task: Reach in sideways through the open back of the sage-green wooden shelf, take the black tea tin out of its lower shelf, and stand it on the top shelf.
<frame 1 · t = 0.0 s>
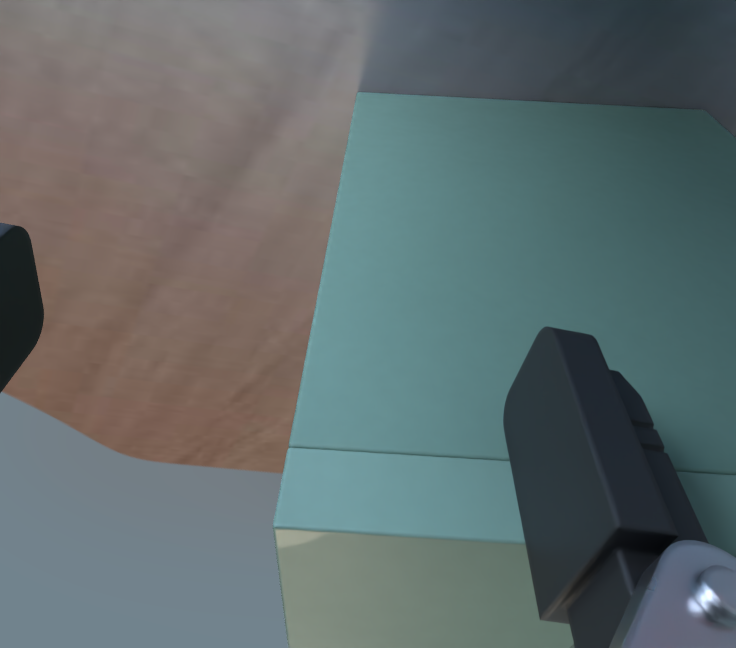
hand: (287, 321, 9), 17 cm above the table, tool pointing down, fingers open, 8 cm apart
shelf: (487, 305, 30), on the table
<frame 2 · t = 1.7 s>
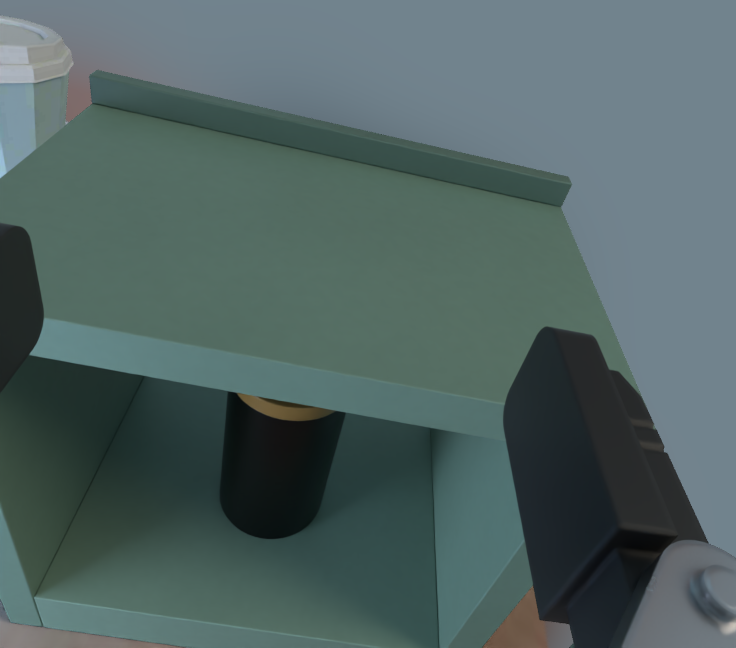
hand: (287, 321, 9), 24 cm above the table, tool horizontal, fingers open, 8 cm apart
black tea tin: (271, 492, 31), point 3 cm above the table, touching shelf
shelf: (266, 522, 33), on the table
disposable coffee cup: (21, 208, 51), on the table
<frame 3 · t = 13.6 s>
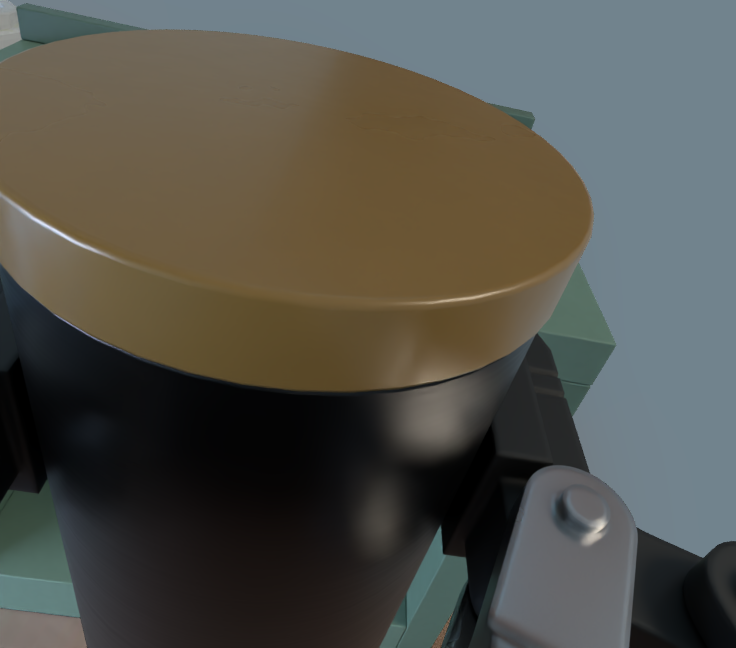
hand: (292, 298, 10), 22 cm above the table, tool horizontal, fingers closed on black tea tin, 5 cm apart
black tea tin: (240, 611, 12), point 16 cm above the table, touching gripper
shelf: (228, 497, 31), on the table
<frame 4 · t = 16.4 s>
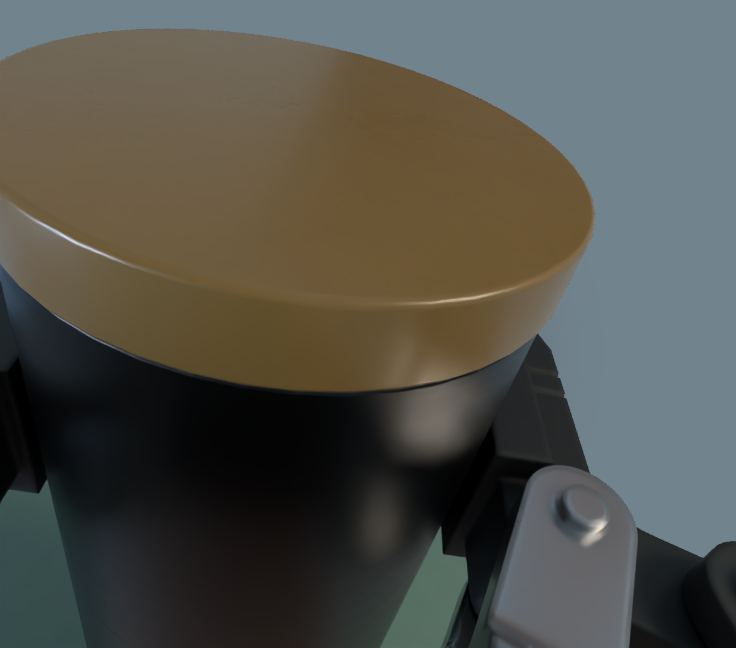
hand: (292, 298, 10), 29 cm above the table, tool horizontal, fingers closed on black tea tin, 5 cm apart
black tea tin: (240, 612, 12), point 23 cm above the table, touching gripper
when the fingers open (26 cm above the table, at t = 18.9 s): black tea tin stays where it is, resting on shelf.
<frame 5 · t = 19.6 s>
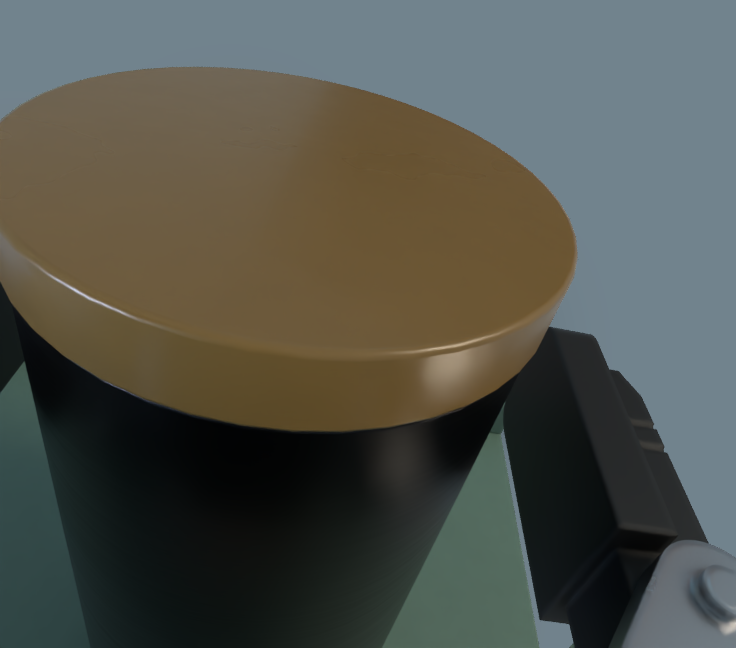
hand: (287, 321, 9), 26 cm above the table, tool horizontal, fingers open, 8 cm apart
black tea tin: (241, 621, 12), point 19 cm above the table, touching shelf
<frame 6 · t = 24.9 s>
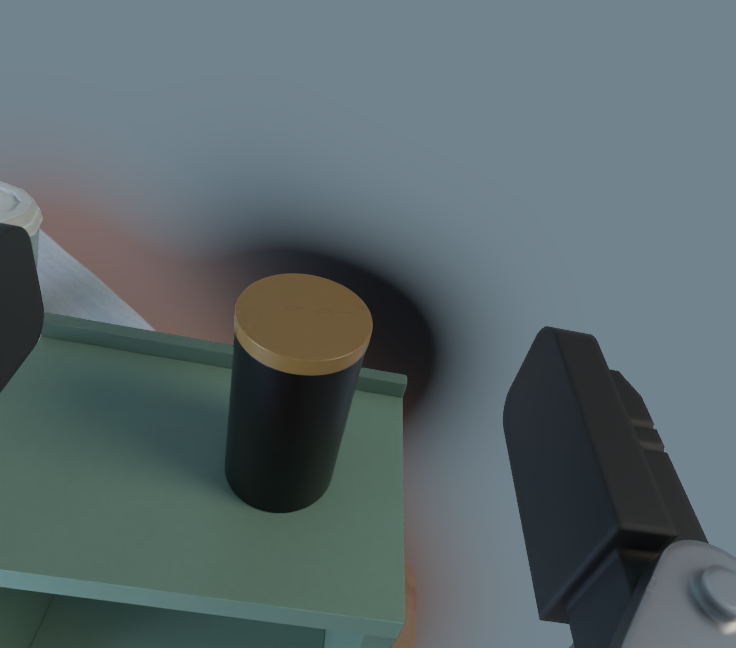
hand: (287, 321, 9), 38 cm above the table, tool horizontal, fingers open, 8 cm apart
black tea tin: (279, 466, 29), point 19 cm above the table, touching shelf
shelf: (193, 626, 41), on the table
disposable coffee cup: (1, 330, 59), on the table
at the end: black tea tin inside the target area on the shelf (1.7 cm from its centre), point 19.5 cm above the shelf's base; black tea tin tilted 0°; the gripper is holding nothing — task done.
